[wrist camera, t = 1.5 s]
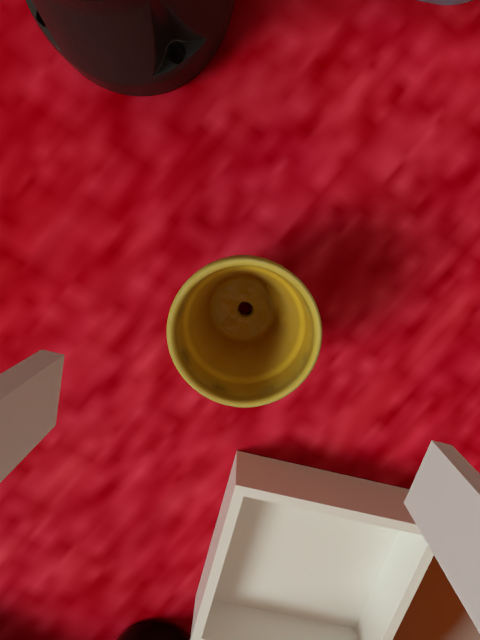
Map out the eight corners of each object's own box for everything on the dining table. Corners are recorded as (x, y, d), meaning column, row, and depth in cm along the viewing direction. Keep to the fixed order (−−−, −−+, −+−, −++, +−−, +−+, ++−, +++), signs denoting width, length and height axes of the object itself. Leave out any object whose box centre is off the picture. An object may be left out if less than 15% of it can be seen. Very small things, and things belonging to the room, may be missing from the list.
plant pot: (315, 268, 31) (347, 284, 22) (280, 370, 34) (294, 426, 24) (204, 234, 30) (186, 236, 21) (176, 342, 33) (149, 386, 23)
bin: (236, 450, 36) (235, 484, 31) (419, 491, 37) (445, 531, 32) (196, 594, 41) (189, 643, 36) (358, 627, 42) (373, 679, 37)
